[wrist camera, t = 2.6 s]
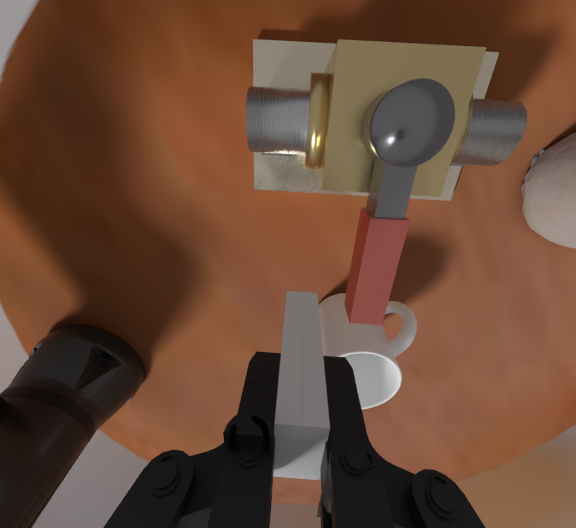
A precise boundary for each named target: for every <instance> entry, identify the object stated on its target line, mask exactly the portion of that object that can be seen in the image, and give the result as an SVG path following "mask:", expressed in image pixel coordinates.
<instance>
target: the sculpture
mask: <svg viewBox="0 0 576 528" xmlns="http://www.w3.org/2000/svg"><path fill="white" fill-rule="evenodd" d="M521 192H522V197H523V206H522V210H523V215H524V217H525V219H526V222H527V223H528V225H529V227H530V228H531V229H533V230H534V231H535V232H537V233H538V234H539V235H541V236H542V237H544V238H546V239H548V240H550V241H552V242H554V243H557V244H560V245H563V246H566V247H571V248H575V249H576V133H573V134H571V135H569V136H568V137H566V138H564V139H562V140H561V141H559V142H558V143H556V144H554V145H553V146H551V147H550V148H548V149H547V150H541V152H540V154H539V156H538V157H537V158H536V156H535V159H534V158H533V159H532V163H531V167H530V170H529V171H528V173H527V174H526V176H525V180H524V183H523V184H522V187H521Z"/></svg>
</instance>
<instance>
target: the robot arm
mask: <svg viewBox="0 0 576 528" xmlns="http://www.w3.org/2000/svg"><path fill="white" fill-rule="evenodd" d="M143 380H144V368H143V364H142V362H141V360H140V358H139V357H138V355H137V354H136V353H135V352H134V351H133V350H132V348H130V347H129V346H128V345H127V344H126V343H125V342H123V341H122V340H120V339H119V338H117V337H115V336H114V335H112V334H110V333H107V332H105V331H102V330H99V329H96V328H92V327H87V326H77V325H74V326H65V327H61V328H58V329H56V330H54V331H52V332H51V333H50V334H48V335H47V336H46V337H45V338H43V339H42V340H41V341H40V342H39V343H38V344H37V345H36V346H35V347H34V348H33V350H32V351H31V353H30V356H29V359H28V360H27V361H26V362H25V364H24V365H23V366H22V367H21V369H20V370H19V372H18V373H17V375H16V376H15V378H14V379H13V381H12V382H11V384H10V385H9V386H8V387H7V388H6V389H5V390H4V391H3V392H2V393H1V394H0V528H32V526H33V525H34V523H35V522H36V520H37V519H38V517H39V516H40V514H41V512H42V511H43V509H44V508H45V507H46V505H47V504H48V502H49V501H50V499H51V497H52V496H53V495H54V493H55V491H56V490H57V489H58V487H59V486H60V484H61V483H62V481H63V480H64V478H65V477H66V475H67V473H68V472H69V470H70V469H71V468H72V466H73V465H74V463H75V462H76V460H77V459H78V457H79V456H80V454H81V453H82V451H83V450H84V448H85V447H86V445H87V444H88V442H89V441H90V439H91V438H92V437H93V435H94V433H95V432H96V431H97V430H98V428H99V427H101V426H102V425H103V424H104V423H105V422H106V421H107V420H108V419H109V418H110V417H112V416H113V415H114V414H115V413H116V412H117V411H118V410H119V409H120V408H121V407H122V406H123V405H125V404H126V403H127V402H129V401H130V400H131V399H132V398H133V396H134V395H135V394H136V392H137V391H138V389H139V387H140V386H141V384H142V382H143ZM223 434H224V443H223V444H221V445H220V446H218V447H217V448H215V449H212V450H210V451H207V452H203V453H200V454H196V455H193V456H189V455H187V454H186V453H185V452H183V451H179V450H170V451H167V452H163V453H161V454H160V455H158V456H157V457H155V458H154V459H152V460H151V461H150V463H149V464H148V465H147V466H146V467H145V468H144V469H143V471H142V472H141V474H140V475H139V477H138V478H137V480H136V481H135V483H134V484H133V485H132V487H131V488H130V490H129V491H128V493H127V494H126V496H125V497H124V498H123V500H122V502H121V503H120V504H119V506H118V507H117V509H116V510H115V512H114V513H113V514H112V516H111V517H110V519H109V520H108V522H107V524H106V525H105V526H104V528H269V526H270V514H271V513H270V512H271V501H272V485H273V476H275V477H287V478H300V479H312V480H320V475H321V489H322V493H321V498H320V502H319V507H318V515H317V516H318V517H321V528H485V526H484V525H483V523H482V522H481V520H480V519H479V517H478V515H477V514H476V512H475V511H474V509H473V507H472V506H471V504H470V503H469V501H468V500H467V498H466V497H465V495H464V493H463V492H462V491H461V490H460V488H459V487H458V486H457V485H456V483H455V482H453V481H452V480H451V479H449V478H448V477H447V476H446V475H444V474H442V473H440V472H438V471H435V470H428V469H424V470H422V471H420V472H418V473H417V474H416V475H415V474H413V473H411V472H408V471H406V470H404V469H402V468H399V467H397V466H395V465H393V464H391V463H389V462H388V461H386V460H385V459H383V458H382V457H381V456H380V455H379V454H378V453H377V452H376V451H375V449H374V448H373V447H372V445H371V443H370V441H369V439H368V436H367V432H366V428H365V423H364V418H363V414H362V409H361V404H360V400H359V395H358V391H357V386H356V383H355V377H354V372H353V368H352V366H351V365H350V364H349V362H348V361H347V359H346V358H345V357H334V356H323V348H322V338H321V328H320V317H319V307H318V296H317V293H308V292H293V291H287V295H286V306H285V317H284V327H283V338H282V349H281V353H269V352H256V353H255V355H254V356H253V357H252V359H251V360H250V361H249V365H248V370H247V375H246V379H245V383H244V387H243V392H242V396H241V401H240V405H239V409H238V414H237V415H236V416H234V417H233V418H232V419H231V420H230V422H229V423H228V424H227V426H226V428H225V430H224V433H223Z"/></svg>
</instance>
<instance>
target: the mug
mask: <svg viewBox="0 0 576 528" xmlns="http://www.w3.org/2000/svg"><path fill="white" fill-rule="evenodd" d="M345 296H346V293H340V294H335V295H332V296H330V297H328V298H326V299H325V300H323V301H322V302H321V303H320V304H319V305H318V307H319V317H320V328H321V338H322V348H323V356H334V357H345V358H346V359H347V361H348V362H349V364H350V365H351V366H352V368H353V372H354V377H355V383H356V386H357V391H358V395H359V400H360V404H361V409H366V408H371V407H375V406H378V405H380V404H382V403H384V402H386V401H388V400H389V399H390V398H392V397H393V396H394V395H395V394H396V392H397V391H398V390H399V388H400V385H401V381H402V374H401V370H400V368H399V366H398V363H397V361H396V359H395V357H396V356H398V355H399V354H401V353H402V352H403V351H405V350H406V349H407V348H408V347H409V346H410V344H411V343H412V341H413V340H414V338H415V335H416V331H417V321H416V318H415V315H414V313H413V311H412V310H411V309H410V308H409V307H408V306H406V305H405V304H403V303H401V302H397V301H388V305H387V308H386V312H385V314H387V313H392V312H394V313H398V314H399V315H400V316H401V318H402V321H403V326H402V329H401V331H400V332H399V333H398V335H397V336H395V337H394V338H393V339H391V340H389V341H388V340H387V338H386V335H385V333H384V331H383V328H382V326H381V325H372V324H356V323H349V319H348V316H347V312H346V308H345V304H344V302H345Z"/></svg>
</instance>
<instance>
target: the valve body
mask: <svg viewBox="0 0 576 528" xmlns="http://www.w3.org/2000/svg"><path fill="white" fill-rule="evenodd" d="M486 48H487V47H473V46H454V45H435V44H416V43H397V42H378V41H360V40H341V39H338V41H337V43H336V44H334V43H315V42H297V41H278V40H259V39H253V86H250V87H249V89H248V93H247V102H246V130H247V140H248V146H249V150H250V152H254V189H259V190H277V191H294V192H311V193H328V194H345V195H362V196H368V195H369V190H370V184H371V179H372V174H373V168H374V163H375V157H374V156H372V155H371V154H370V152H369V151H368V150H367V148H366V146H365V143H364V140H363V123H364V119H365V116H366V114H367V111H368V109H369V108H370V106H371V105H372V103H373V102H374V101H375V100H376V99H377V98H378V97H379V96H380V95H381V94H383V93H384V92H386V91H388V90H390V89H392V88H394V87H397V86H399V85H401V84H403V83H405V82H407V81H410V80H413V79H418V78H427V79H432V80H435V81H437V82H439V83H441V84H442V85H443V86H444V87H445V88H446V89H447V90H448V91H449V93H450V94H451V96H452V99H453V102H454V106H455V121H454V126H453V129H452V132H451V135H450V137H449V139H448V140H447V142H446V144H445V145H444V146H443V148H442V149H441V150H440V151H439V152H438V153H437V154H436V155H435V156H434V157H433V158H431V159H430V160H428V161H427V162H425V163H423V164H420V165H418V167H417V171H416V175H415V179H414V182H413V186H412V190H411V194H410V198H413V199H430V200H448V201H451V198H452V195H453V192H454V189H455V186H456V182H457V179H458V176H459V173H460V170H461V167H462V166H467V165H485V166H495V165H498V164H500V163H502V162H503V161H504V160H506V159H507V158H508V157H509V156H510V155H511V154H512V153H513V151H514V150H515V149H516V147H517V146H518V144H519V142H520V141H521V139H522V136H523V134H524V131H525V128H526V123H527V111H526V108H525V106H524V105H523V104H522V103H521V102H519V101H509V100H491V99H484V98H485V95H486V92H487V89H488V86H489V83H490V79H491V76H492V73H493V70H494V67H495V64H496V61H497V58H498V55H499V52H485V51H486Z"/></svg>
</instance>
